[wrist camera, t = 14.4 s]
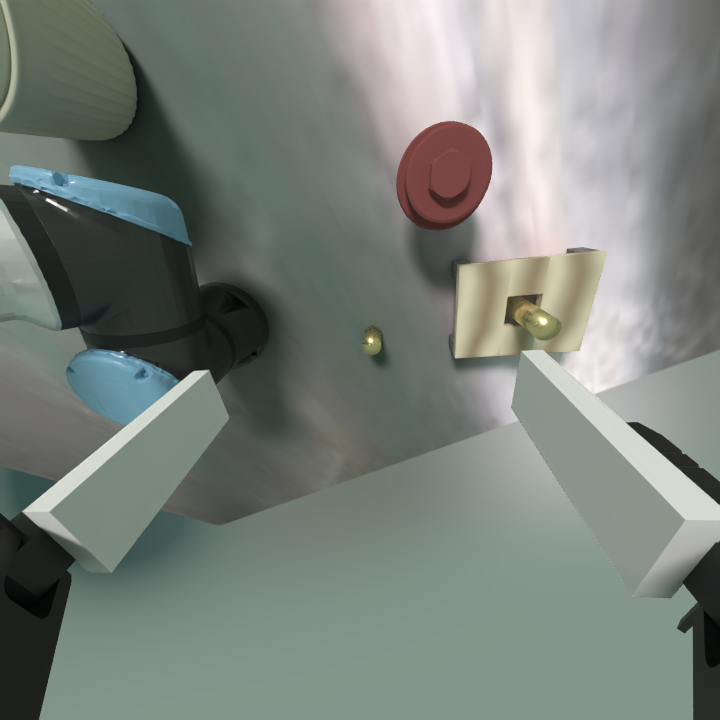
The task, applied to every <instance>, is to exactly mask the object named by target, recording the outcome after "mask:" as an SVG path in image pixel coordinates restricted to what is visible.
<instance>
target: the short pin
mask: <svg viewBox="0 0 720 720" xmlns="http://www.w3.org/2000/svg"><path fill="white" fill-rule="evenodd" d="M381 336H382V334H381V331H380V329H379V328H377V327H369V328H367V329H366V331H365V334H364V339H363V344H362V348H363V351H364V352H365V353H366V354H368V355H375V354H377V353H378V352H379V351H380V350H381Z"/></svg>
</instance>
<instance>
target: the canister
mask: <svg viewBox="0 0 720 720" xmlns="http://www.w3.org/2000/svg"><path fill="white" fill-rule="evenodd" d="M135 80H136V78H135V76H134V73H133V67H132V65H131V64H130V61H129V56H128V54H127V53H126V51H125V49H124V47H123V44H122V42H121V41H120V39H119V38H118V37H117V34H116V32H115V31H114V29H113V28H112V26H111V25H110V24H109V23H108V22H107V20H106V19H105V17H104V16H103V15H102V13H101V12H100V11H99V10H98V9H97V8H96V7H95V6H94V5H93V4H92V3H91V2H90V0H0V132H6V133H16V134H26V135H36V136H45V137H55V138H65V139H79V140H107V139H112V138H115V137H117V135H121V134H122V133H123V132H124V131H125V130H127V129H128V126H129V125H130V124H131V123H132V119H133V117H135V111H136V109H137V106H136V103H137V100H138V98H137V87H136V82H135Z"/></svg>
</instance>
